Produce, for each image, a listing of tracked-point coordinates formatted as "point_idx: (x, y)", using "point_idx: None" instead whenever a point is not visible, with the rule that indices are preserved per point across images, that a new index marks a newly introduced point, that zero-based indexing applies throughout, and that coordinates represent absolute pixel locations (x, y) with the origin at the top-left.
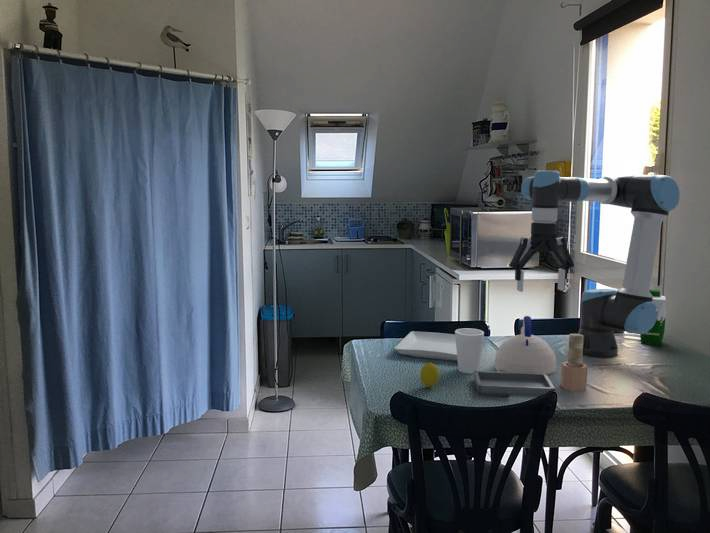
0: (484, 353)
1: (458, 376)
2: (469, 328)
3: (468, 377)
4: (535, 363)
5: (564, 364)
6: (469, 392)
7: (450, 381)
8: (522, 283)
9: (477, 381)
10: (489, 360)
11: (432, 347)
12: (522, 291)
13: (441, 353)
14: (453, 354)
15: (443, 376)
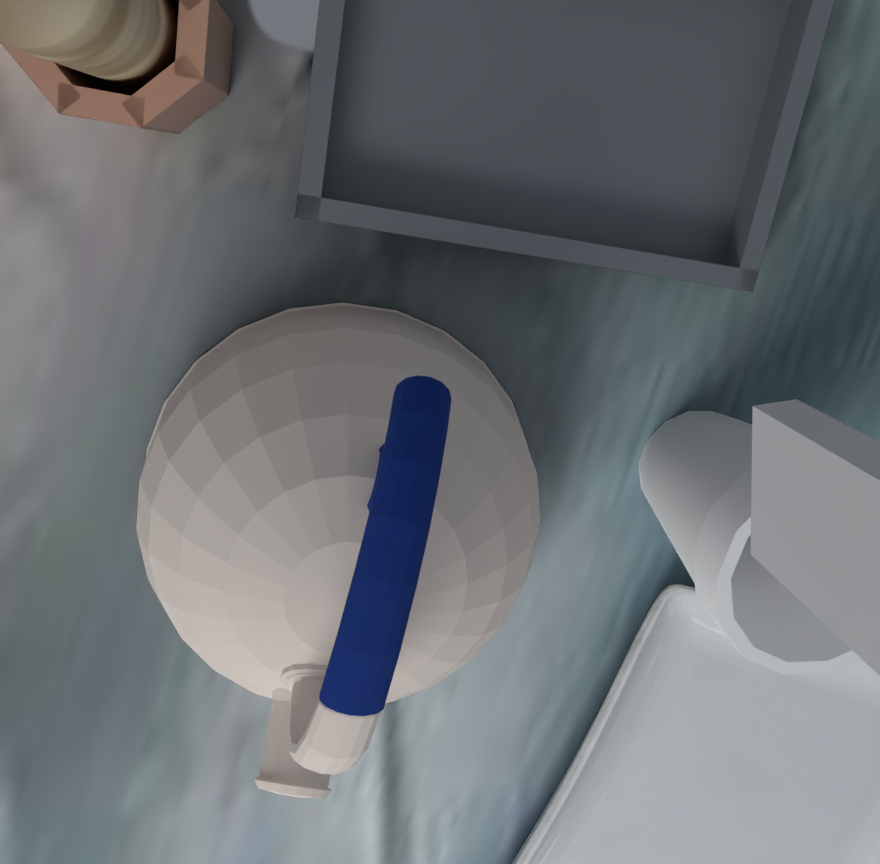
0: (496, 762)
1: (786, 352)
2: (786, 671)
3: (736, 333)
4: (337, 336)
5: (196, 26)
6: (830, 50)
7: (862, 262)
8: (867, 455)
9: (813, 64)
10: (508, 641)
11: (758, 827)
12: (764, 404)
13: None
14: None
15: (868, 353)
